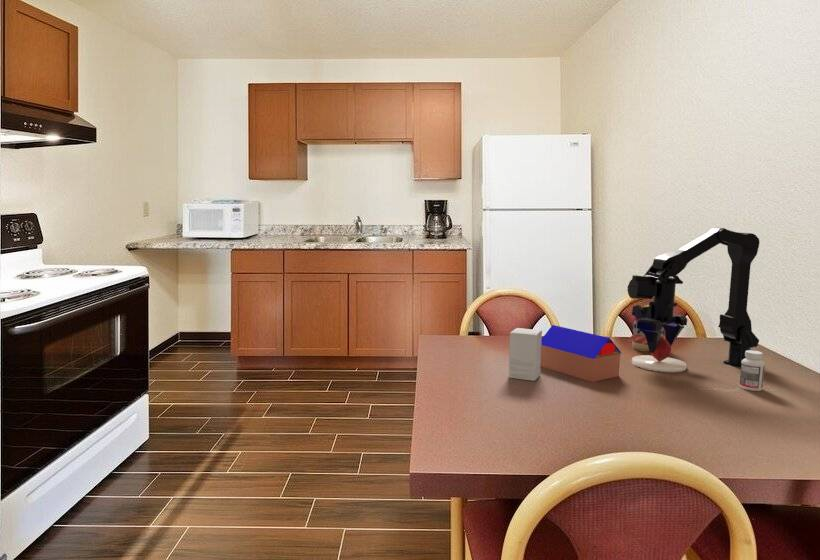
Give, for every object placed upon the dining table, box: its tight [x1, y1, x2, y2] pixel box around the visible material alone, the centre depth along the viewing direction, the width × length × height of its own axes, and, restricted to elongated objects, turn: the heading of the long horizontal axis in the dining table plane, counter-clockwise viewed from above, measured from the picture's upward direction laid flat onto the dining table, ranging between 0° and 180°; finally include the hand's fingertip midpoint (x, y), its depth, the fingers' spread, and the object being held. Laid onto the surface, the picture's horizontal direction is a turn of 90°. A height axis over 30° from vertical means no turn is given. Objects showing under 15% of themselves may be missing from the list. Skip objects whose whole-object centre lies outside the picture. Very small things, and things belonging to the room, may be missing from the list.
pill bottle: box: [739, 350, 766, 392], centre depth 159 cm, size 5×5×10 cm
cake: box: [630, 304, 665, 352], centre depth 202 cm, size 10×10×15 cm
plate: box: [631, 354, 688, 373], centre depth 181 cm, size 15×15×1 cm
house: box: [540, 324, 622, 383], centre depth 172 cm, size 12×20×12 cm, turn 35°
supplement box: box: [508, 327, 543, 382], centre depth 165 cm, size 7×7×13 cm
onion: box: [651, 335, 672, 361], centre depth 180 cm, size 6×6×8 cm
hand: (659, 350), depth 181 cm, fingers open, 9 cm apart
